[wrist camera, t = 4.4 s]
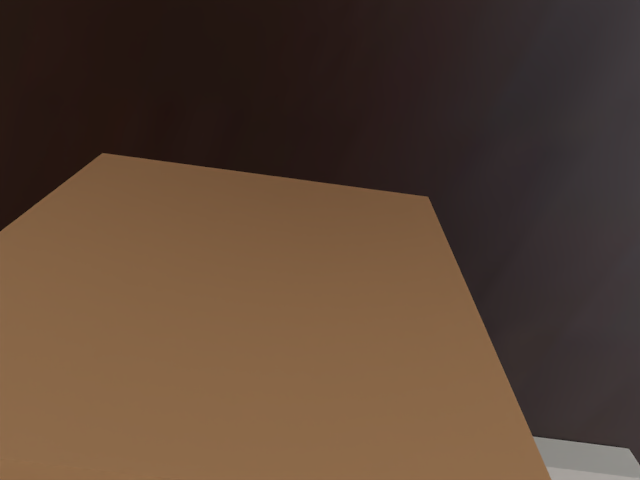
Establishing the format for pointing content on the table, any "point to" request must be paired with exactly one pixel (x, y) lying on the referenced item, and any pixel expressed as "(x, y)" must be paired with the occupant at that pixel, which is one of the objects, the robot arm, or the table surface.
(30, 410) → the block
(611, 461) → the board
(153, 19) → the table surface
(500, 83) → the table surface
